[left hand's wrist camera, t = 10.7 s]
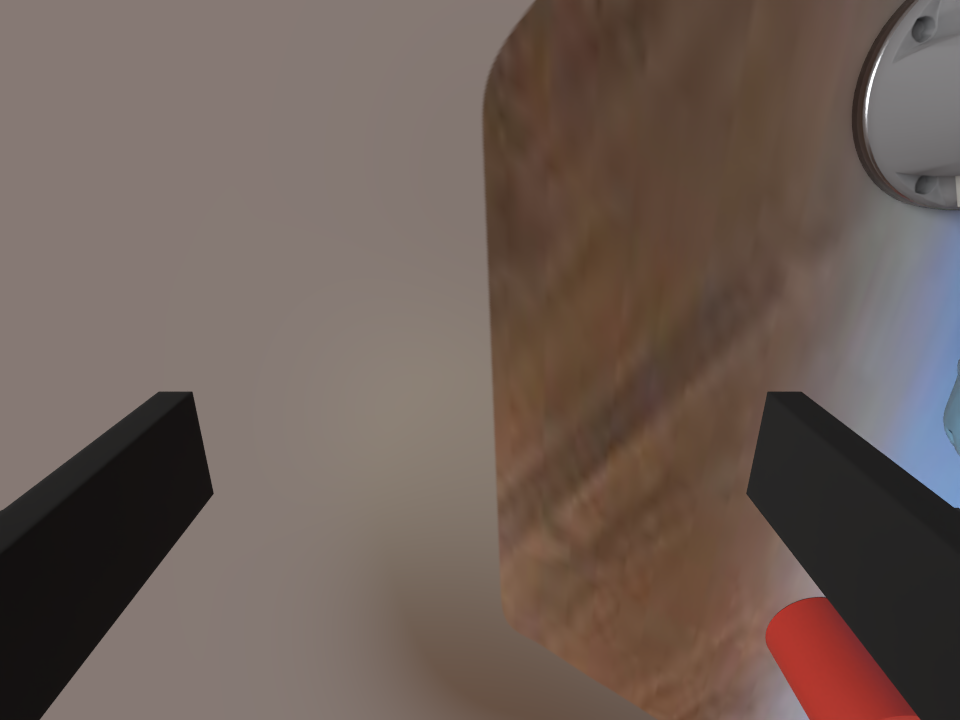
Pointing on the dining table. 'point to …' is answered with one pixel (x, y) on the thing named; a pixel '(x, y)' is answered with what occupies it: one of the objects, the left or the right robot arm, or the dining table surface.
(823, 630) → the can
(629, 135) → the dining table surface
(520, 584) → the dining table surface
